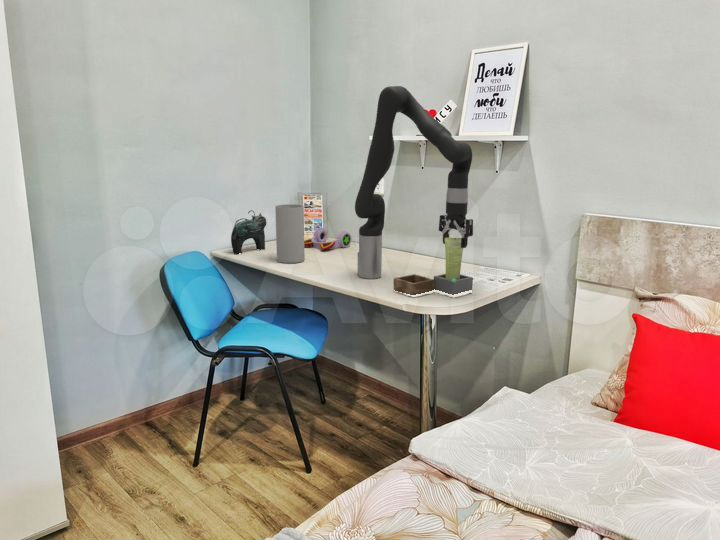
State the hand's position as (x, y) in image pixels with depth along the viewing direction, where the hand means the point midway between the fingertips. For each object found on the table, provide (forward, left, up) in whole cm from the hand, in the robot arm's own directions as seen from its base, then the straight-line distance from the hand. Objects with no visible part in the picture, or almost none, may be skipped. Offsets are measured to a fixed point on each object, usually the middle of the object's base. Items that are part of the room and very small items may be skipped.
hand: (454, 245), depth 202 cm
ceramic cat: (-111, -25, -18) cm, 115 cm away
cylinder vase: (-81, -20, -18) cm, 85 cm away
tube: (0, 0, -17) cm, 17 cm away
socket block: (0, 0, -18) cm, 18 cm away
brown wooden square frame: (-9, -11, -18) cm, 23 cm away
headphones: (-98, +10, -18) cm, 101 cm away
